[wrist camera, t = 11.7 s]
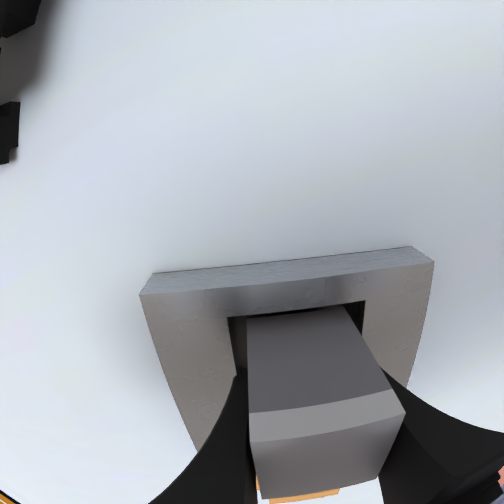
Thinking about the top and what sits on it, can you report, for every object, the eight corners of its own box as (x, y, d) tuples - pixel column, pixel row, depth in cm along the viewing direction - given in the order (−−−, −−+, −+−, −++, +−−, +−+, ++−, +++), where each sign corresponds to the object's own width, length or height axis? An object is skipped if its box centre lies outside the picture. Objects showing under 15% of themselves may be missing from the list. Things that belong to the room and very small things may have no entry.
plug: (343, 306, 12) (405, 413, 6) (338, 377, 13) (376, 478, 7) (246, 318, 12) (249, 442, 6) (255, 388, 13) (262, 499, 7)
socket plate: (411, 246, 12) (434, 261, 11) (369, 442, 18) (376, 461, 16) (152, 273, 13) (138, 294, 11) (214, 462, 18) (213, 483, 16)
